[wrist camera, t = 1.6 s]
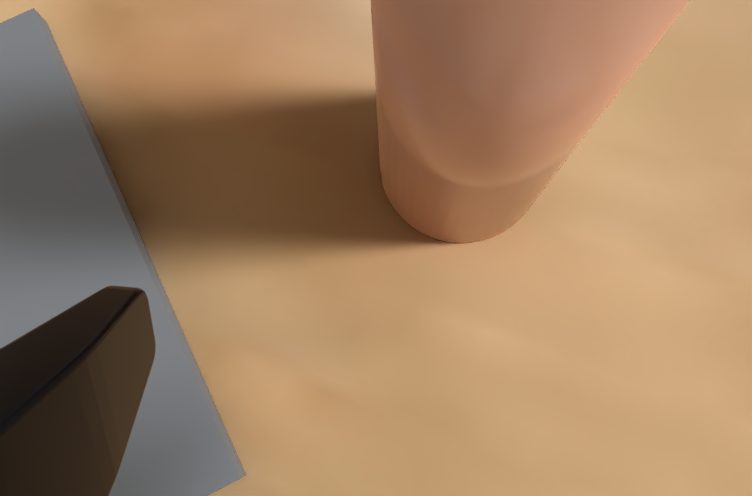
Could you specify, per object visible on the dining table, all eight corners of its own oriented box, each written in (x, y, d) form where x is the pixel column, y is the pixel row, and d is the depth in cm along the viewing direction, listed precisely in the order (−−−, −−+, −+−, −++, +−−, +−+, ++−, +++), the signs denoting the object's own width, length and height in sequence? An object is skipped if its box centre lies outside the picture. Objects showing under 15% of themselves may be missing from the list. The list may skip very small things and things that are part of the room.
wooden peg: (561, 219, 21) (880, -89, 7) (403, 261, 21) (425, 24, 7) (513, 73, 22) (716, -446, 8) (362, 111, 22) (313, -350, 8)
